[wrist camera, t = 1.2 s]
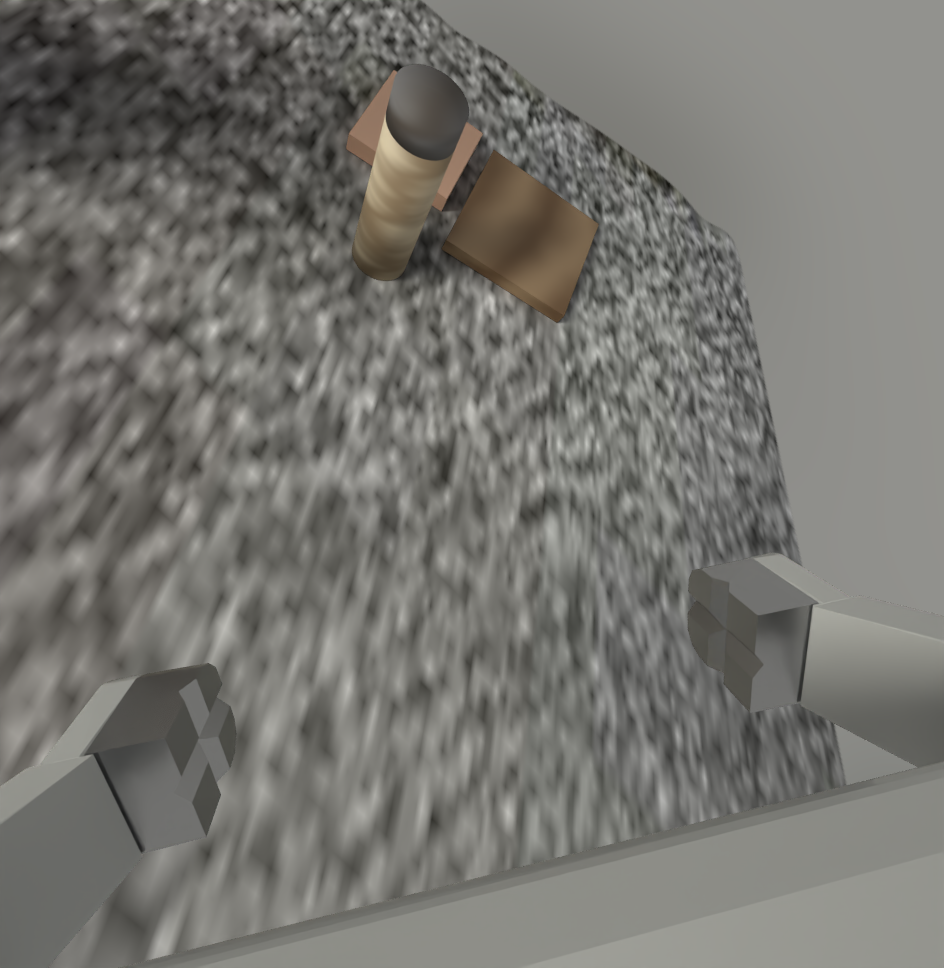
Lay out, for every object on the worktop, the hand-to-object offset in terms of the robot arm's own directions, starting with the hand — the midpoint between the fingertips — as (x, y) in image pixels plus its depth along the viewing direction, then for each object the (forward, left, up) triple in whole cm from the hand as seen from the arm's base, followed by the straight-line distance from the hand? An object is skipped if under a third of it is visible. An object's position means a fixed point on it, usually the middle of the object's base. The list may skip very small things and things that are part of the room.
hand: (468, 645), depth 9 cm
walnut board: (+2, +38, -27) cm, 46 cm away
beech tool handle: (-8, +28, -27) cm, 39 cm away
